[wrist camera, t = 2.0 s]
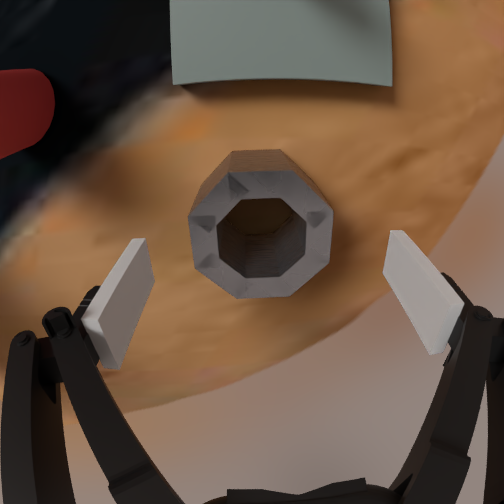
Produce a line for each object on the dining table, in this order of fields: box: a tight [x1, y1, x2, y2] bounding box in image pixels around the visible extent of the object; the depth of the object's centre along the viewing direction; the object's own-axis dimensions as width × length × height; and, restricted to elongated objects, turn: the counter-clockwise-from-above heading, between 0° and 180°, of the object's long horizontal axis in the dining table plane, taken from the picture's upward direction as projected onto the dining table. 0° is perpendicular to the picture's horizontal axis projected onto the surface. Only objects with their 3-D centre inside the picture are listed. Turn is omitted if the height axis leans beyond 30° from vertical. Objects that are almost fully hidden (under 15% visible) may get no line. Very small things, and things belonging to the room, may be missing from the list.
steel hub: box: [188, 149, 334, 299], centre depth 20 cm, size 8×8×6 cm
